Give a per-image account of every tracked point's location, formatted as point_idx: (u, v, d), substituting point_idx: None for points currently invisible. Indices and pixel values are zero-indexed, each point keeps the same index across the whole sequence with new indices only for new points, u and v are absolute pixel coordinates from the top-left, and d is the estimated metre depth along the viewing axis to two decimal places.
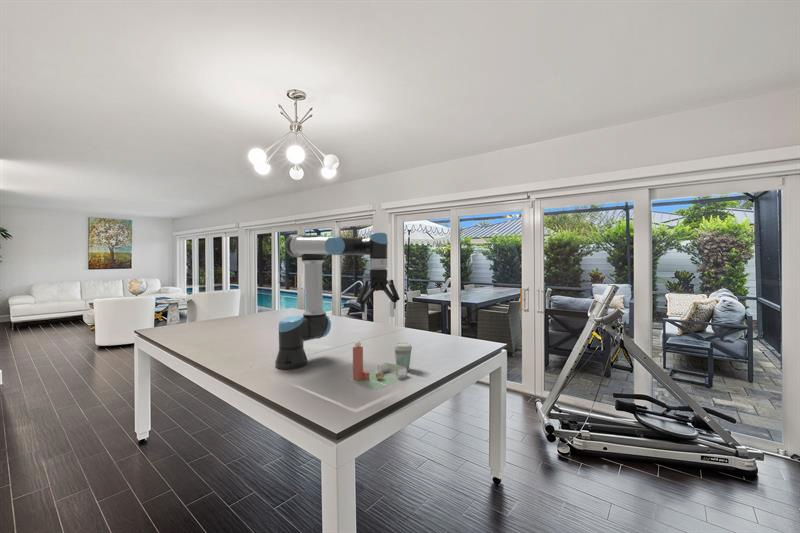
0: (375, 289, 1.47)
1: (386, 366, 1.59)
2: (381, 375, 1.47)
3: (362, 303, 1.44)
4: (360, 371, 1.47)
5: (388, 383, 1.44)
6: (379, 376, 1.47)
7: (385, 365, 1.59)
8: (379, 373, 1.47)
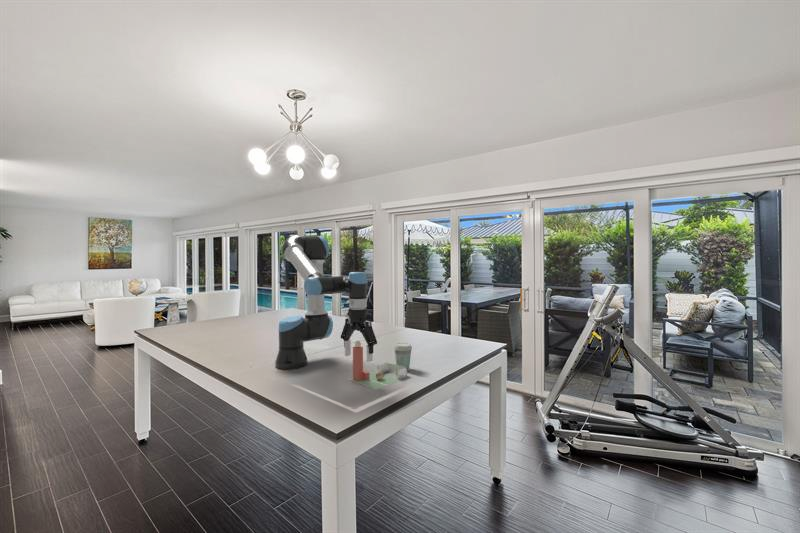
0: (351, 328, 1.48)
1: (386, 366, 1.59)
2: (381, 375, 1.47)
3: (343, 339, 1.52)
4: (360, 371, 1.47)
5: (388, 383, 1.44)
6: (379, 376, 1.47)
7: (385, 365, 1.59)
8: (379, 373, 1.47)
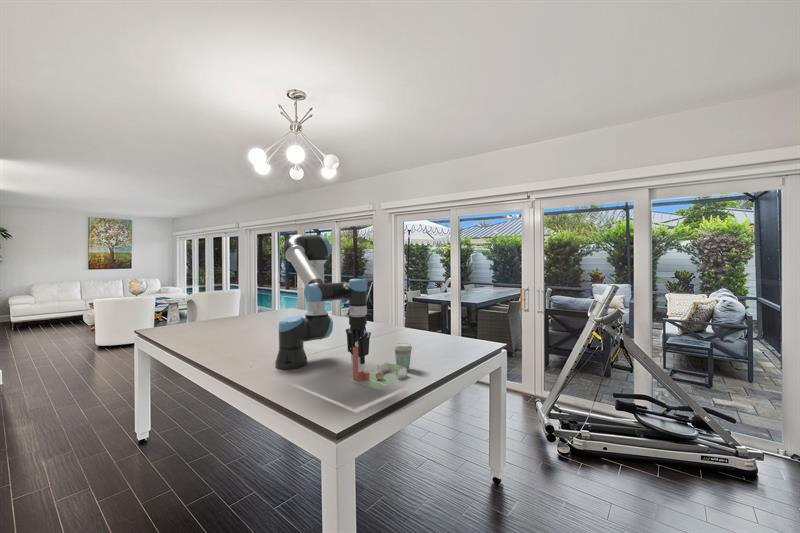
0: (353, 336, 1.47)
1: (386, 366, 1.59)
2: (381, 375, 1.47)
3: (351, 353, 1.49)
4: None
5: (388, 383, 1.44)
6: (379, 376, 1.47)
7: (385, 365, 1.59)
8: (379, 373, 1.47)
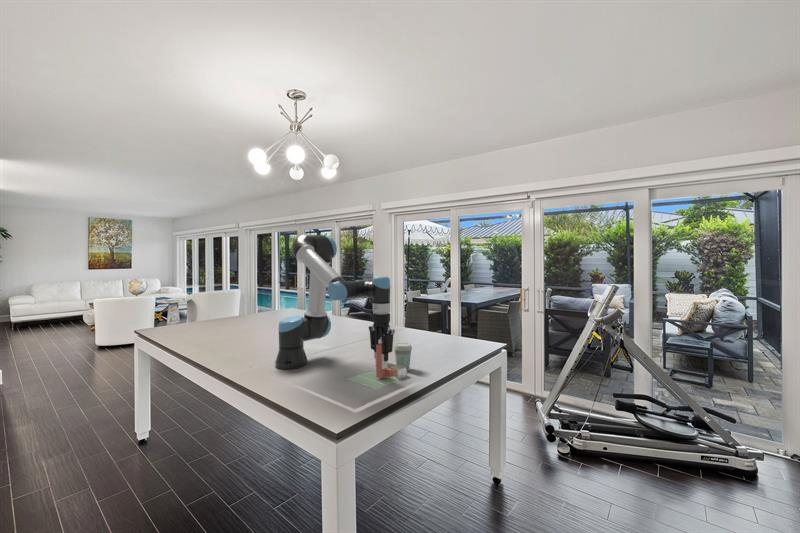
0: (376, 333, 1.48)
1: None
2: (394, 375, 1.53)
3: (374, 350, 1.50)
4: None
5: (388, 383, 1.44)
6: None
7: None
8: None
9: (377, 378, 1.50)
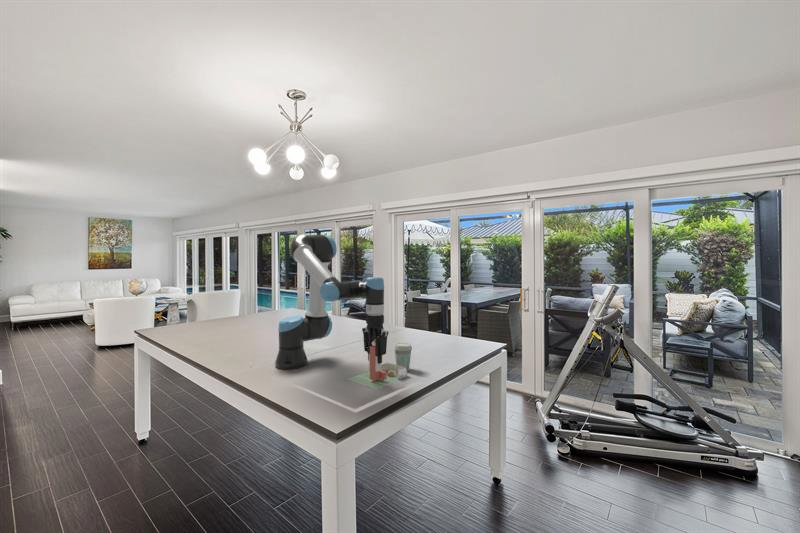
0: (370, 335, 1.45)
1: (386, 366, 1.59)
2: None
3: (367, 352, 1.47)
4: (377, 371, 1.45)
5: (388, 383, 1.44)
6: None
7: (385, 365, 1.59)
8: None
9: None
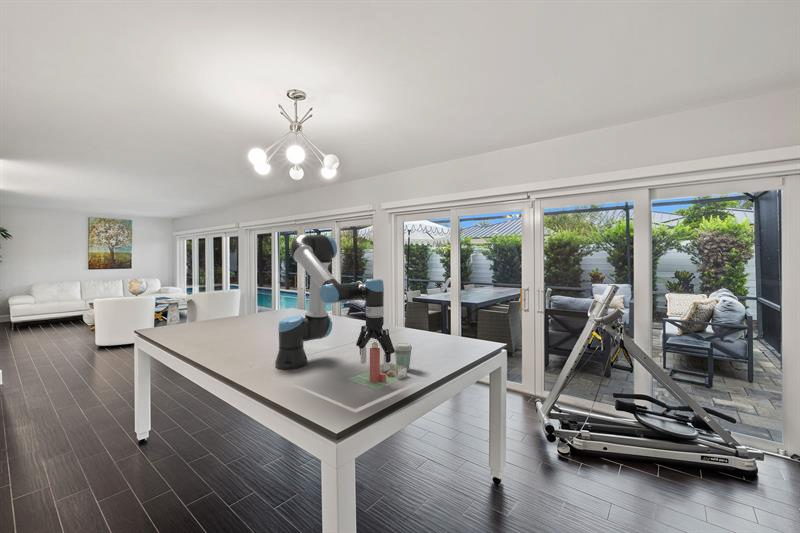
0: (367, 336, 1.46)
1: None
2: (393, 376, 1.52)
3: (359, 346, 1.50)
4: (377, 373, 1.45)
5: (388, 383, 1.44)
6: None
7: None
8: None
9: None
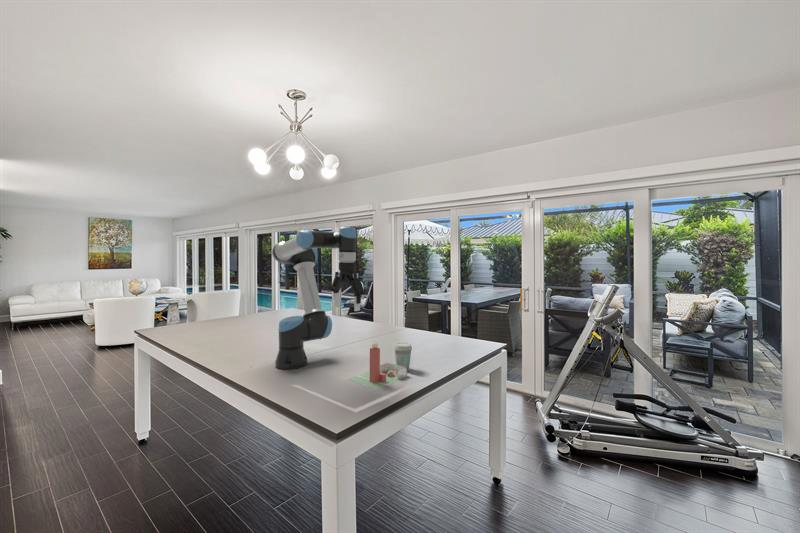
0: (340, 280, 1.57)
1: (386, 366, 1.59)
2: (393, 376, 1.52)
3: (333, 291, 1.61)
4: (377, 373, 1.45)
5: (388, 383, 1.44)
6: None
7: (385, 365, 1.59)
8: None
9: None
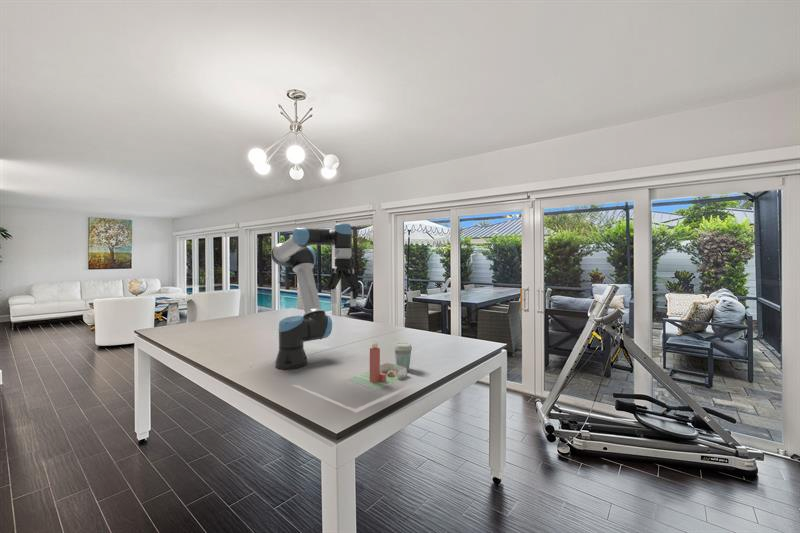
0: (336, 276, 1.58)
1: (386, 366, 1.59)
2: (393, 376, 1.52)
3: None
4: (377, 373, 1.45)
5: (388, 383, 1.44)
6: None
7: (385, 365, 1.59)
8: None
9: None
